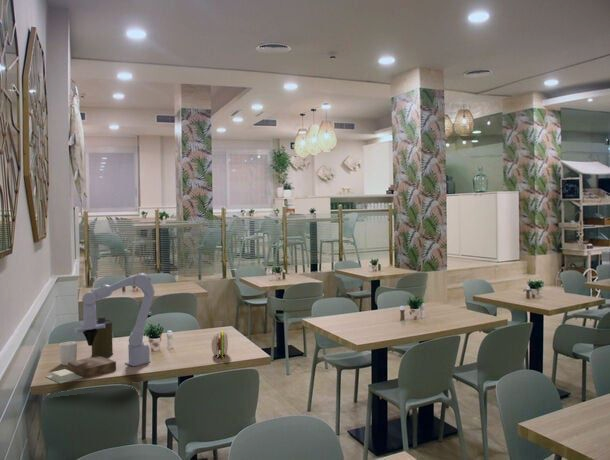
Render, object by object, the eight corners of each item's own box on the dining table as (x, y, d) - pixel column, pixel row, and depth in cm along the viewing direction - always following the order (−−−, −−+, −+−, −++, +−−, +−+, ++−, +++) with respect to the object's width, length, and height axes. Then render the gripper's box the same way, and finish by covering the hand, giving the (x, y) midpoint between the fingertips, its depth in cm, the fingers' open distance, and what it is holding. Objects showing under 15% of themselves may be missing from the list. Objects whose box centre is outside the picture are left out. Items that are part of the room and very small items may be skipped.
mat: (68, 371, 240) (68, 371, 240) (82, 377, 231) (82, 377, 231) (46, 377, 232) (46, 376, 232) (60, 383, 223) (60, 382, 223)
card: (51, 372, 232) (51, 376, 232) (61, 376, 226) (61, 380, 226) (65, 369, 236) (65, 373, 236) (74, 372, 230) (74, 377, 231)
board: (98, 363, 252) (98, 355, 252) (116, 369, 242) (115, 361, 242) (68, 371, 241) (67, 362, 241) (85, 377, 231) (84, 369, 230)
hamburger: (212, 352, 271) (211, 330, 271) (228, 352, 272) (227, 329, 272) (211, 359, 259) (210, 335, 259) (227, 358, 261) (227, 334, 260)
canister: (114, 356, 265) (113, 317, 265) (92, 359, 260) (92, 319, 260) (111, 351, 275) (110, 314, 274) (90, 354, 270) (89, 316, 269)
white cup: (60, 366, 248) (59, 346, 247) (59, 362, 255) (58, 342, 254) (78, 364, 252) (77, 344, 251) (76, 360, 258) (76, 340, 258)
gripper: (99, 313, 255) (100, 341, 255) (70, 318, 243) (71, 347, 244) (107, 315, 250) (107, 343, 250) (78, 320, 239) (78, 349, 239)
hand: (90, 345), depth 247 cm, fingers closed
